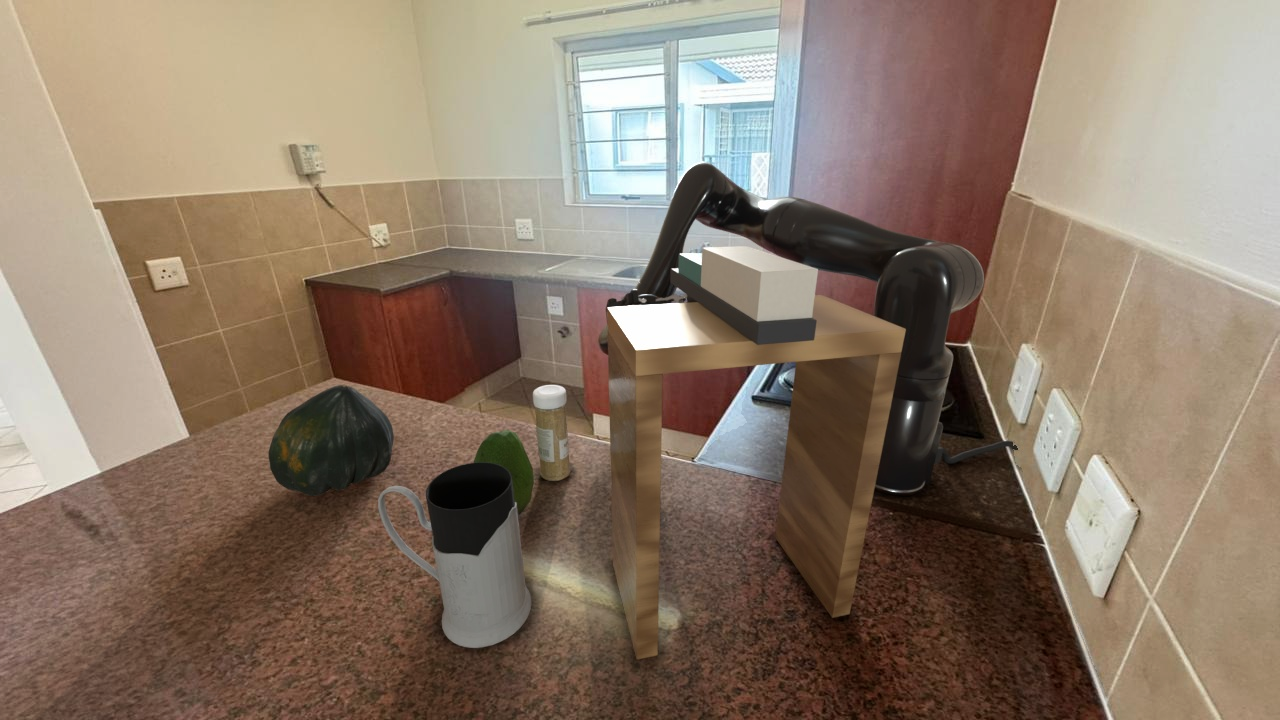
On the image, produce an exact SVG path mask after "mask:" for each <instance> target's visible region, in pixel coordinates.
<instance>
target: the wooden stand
mask: <svg viewBox="0 0 1280 720" xmlns="http://www.w3.org/2000/svg"><path fill="white" fill-rule="evenodd" d="M812 318H814V319H816V320H817V323H816V330H815V338H814V340H813V341H800V342H788V343H775V344H763V345H757V344H755V343H754V342H753V341H751V340H750V339H748V338H747V337H746V336H744V335H743V334H741V333H740V332H739V331H737V330H736V329H734V328H733V327H732V326H730V325H729V324H727V323H726V322H725V321H723V320H722V319H720V318H719V317H718V316H716V315H715V314H714V313H712V312H711V311H709V310H708V309H707V308H705V307H704V306H702V305H701V304H700V303H698V302H692V303H686V302H684V303H675V302H674V303H673V304H658V305H641V306H624V307H608V308H607V318H606V325H607V328H608V355H607V359H608V360H607V361H608V362H607V365H608V366H607V367H608V404H609V405H608V406H609V407H608V408H609V409H608V410H609V446H610V447H609V449H610V450H609V451H610V489H611V491H610V493H611V533H612V535H611V537H612V538H611V539H612V567H613V571H614V575H615V579H616V583H617V587H618V591H619V596H620V600H621V604H622V606H623V611H624V614H625V615H624V616H625V619H626V623H627V627H628V630H629V635H630V639H631V643H632V647H633V651H634V654H635V658H636V660H642V659H647V658H651V657H657V656H658V655H659V652H658V651H659V605H660V603H659V601H660V599H659V597H660V592H659V591H660V543H661V494H662V493H661V491H662V489H661V487H662V485H661V484H662V483H661V482H662V436H663V435H662V434H663V431H662V429H663V378H664V376H663V375H665V374H675V373H685V372H686V373H687V372H697V371H698V372H699V371H709V370H710V371H711V370H721V369H730V368H742V367H743V368H744V367H754V366H765V365H775V364H777V365H778V364H787V363H795V369H794V375H793V376H794V377H793V384H792V392H791V393H792V394H791V403H790V410H789V418H788V426H787V434H786V435H787V436H786V444H785V453H784V460H783V468H782V475H781V476H782V477H781V487H780V494H779V502H778V511H777V519H776V527H775V528H776V529H775V536H774V538H775V540H776V541H777V542H778V544H779V545H780V547H781V548H782V549H783V551H784V553H785V554H786V555H787V557H788V558H789V560H790V561H791V562H792V564H793V565H794V566H795V568H796V569H797V570H798V572H799V573H800V575H801V576H802V578H803V579H804V581H805V582H806V583H807V585H808V586H809V587H810V589H811V590H812V592H813V593H814V595H815V596H816V597H817V599H818V600H819V602H820V603H821V604H822V606H823V607H824V608H825V610H826V612H827V613H828V614H829V616H830V617H831V618H832V619H833V618H839V617H843V616H847V615H850V614H851V609H852V604H853V600H854V599H853V598H854V594H855V590H856V584H857V579H858V574H859V569H860V564H861V559H862V553H863V550H864V549H863V548H864V544H865V538H866V533H867V528H868V523H869V518H870V514H871V508H872V504H873V503H872V502H873V498H874V492H875V489H874V488H875V483H876V478H877V473H878V468H879V463H880V458H881V453H882V448H883V443H884V438H885V433H886V428H887V423H888V418H889V412H890V407H891V402H892V397H893V392H894V387H895V382H896V377H897V372H898V367H899V362H900V357H901V352H902V346H903V341H904V336H905V331H906V329H904V328H902V327H900V326H897V325H895V324H892V323H890V322H887V321H885V320H882V319H880V318H877V317H875V316H873V314H870V313H868V312H865V311H862V310H860V309H857V308H855V307H853V306H850V305H848V304H845V303H843V302H840V301H838V300H835V299H833V298H831V297H828V296H825V295H822V294H815V299H814V306H813V314H812Z"/></svg>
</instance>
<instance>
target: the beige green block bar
mask: <svg viewBox="0 0 1280 720" xmlns="http://www.w3.org/2000/svg"><path fill="white" fill-rule="evenodd" d="M818 275H819V270H818V269H816V268H813V267H810V266H806V265H803V264H800V263H797V262H794V261H791V260H788V259H785V258H782V257H780V256H778V255H776V254H774V253H771V252H770V253H769V252H766V251H763V250H761V249H758V248H754V247H750V246H749V245H740V246H734V245H733V246H707V247H705V246H704V247H702V249H701V252H691V253H688V252H687V253H683V254H679V268H674V269H671V279H670V282H671V283H672V284H673V285H675V286H676V287H677V289H678V290H680V291H681V292H683V293H684V294H685V295H686V294H687V295H688V296H690V297H691V298H693V299H694V300H695V301H697V302H698V303H700V304H701V305H702V306H704V307H705V308H707V309H708V310H709V311H711V312H712V313H714V314H715V315H716V316H718V317H719V318H720V319H722V320H723V321H725V322H726V323H727V324H729V325H730V326H732V327H733V328H734V329H736V330H737V331H739V332H740V333H741V334H743V335H744V336H746V337H747V338H748V339H750V340H751V341H753V342H754V343H755V344H757V345H763V344H775V343H788V342H800V341H813V340H814V338H815V330H816V323H817V320H816V319H814V318H812V314H813V306H814V299H815V295H816V289H817V281H818Z"/></svg>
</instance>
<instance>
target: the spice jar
mask: <svg viewBox="0 0 1280 720" xmlns="http://www.w3.org/2000/svg"><path fill="white" fill-rule="evenodd" d="M532 391H533V392H532V403H533V406H534V412H535V429H536V441H537V450H538V457H539V466H540V469H539V475H540V477H541V478H542V479H544V480H546V481H550V482H557V481H561V480H564V479H566V478H567V477H568V476H570V474H571V470H572V469H571V466H570V446H569V435H568V434H569V433H568V422H567V408H566V405H567V400H568V399H567V390H566V388H565V387H563V386H562V385H559V384H545V385H541V386H539V387H536V388H535V389H534V390H532Z"/></svg>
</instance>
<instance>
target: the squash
mask: <svg viewBox="0 0 1280 720" xmlns="http://www.w3.org/2000/svg"><path fill="white" fill-rule="evenodd" d="M394 435H395V433H394V428H393V425H392V423H391V420H390V419H389V417H388V416H387V414H386V413H385V412H384V411H383V410H381V408H380V407H378V406H377V405H376V403H374V401H372V400H371V399H369V398H368V397H367V396H365V395H364V394H362V393H360V391H358V390H357V389H355V388H354V387H352V386H349V385H347V384H339V385H334V386H332V387H329V388H327V389H325V390H323V391H321V392H319V393H317V394H316V395H313V396H312V397H310V398H309V399H307V400H306V401H304V402H303V403H301V404H300V405H298V406H296V407H294V408H293V409H291V410H289V412H287V413H286V414H285V415H284V417H283V418H282V419H281V421H280V422H279V425H278V427H277V428H276V430H275V432H274V434H273V436H272V438H271V442H270V445H269V449H268V462H269V469H270V471H271V474H272V475H273V476H274V479H275V480H276V482H277V483H278V484H280V486H281V487H283V488H284V489H287V490H289V491H292V492H299V493H301V494H303V495H305V496H310V497H315V496H321V495H324V494H326V493H327V492H329V491H330V490H331V489H333V490H335V491H343V490H344V491H345V490H347V489H348V488H349V487H350V486H351V485H356V484H359V483H362V482H364V481H365V480H368V479H370V478H374V477H376V476H379V475H381V474H382V473H384V471H385V470H387V468H388V466H389V465H390V464H391V460H392V454H393V445H394V439H395V436H394Z"/></svg>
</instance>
